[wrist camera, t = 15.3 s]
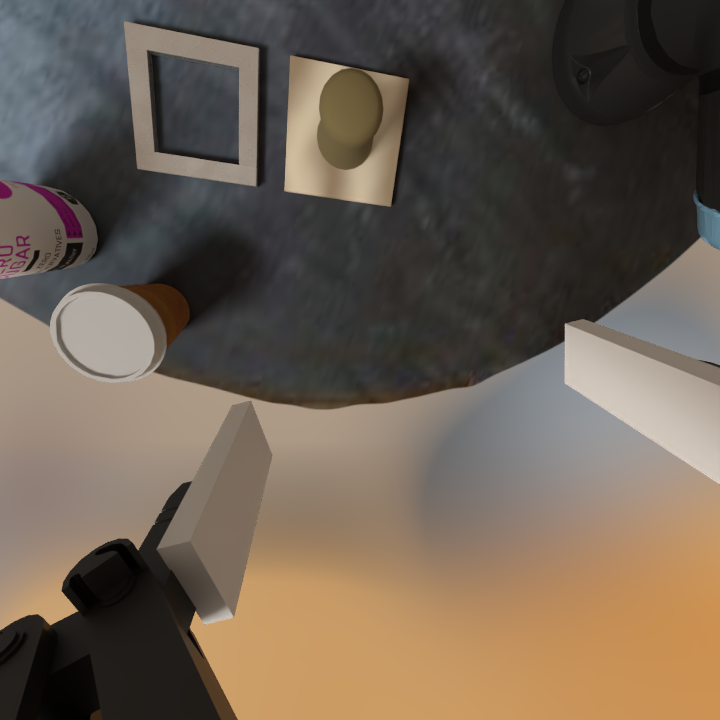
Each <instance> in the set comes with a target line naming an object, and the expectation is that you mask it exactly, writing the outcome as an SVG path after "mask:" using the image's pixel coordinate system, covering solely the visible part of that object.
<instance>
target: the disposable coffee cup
mask: <svg viewBox="0 0 720 720" xmlns="http://www.w3.org/2000/svg"><path fill="white" fill-rule="evenodd" d="M189 318H190V309H189V305H188V303H187V301H186V299H185V298H184V296H183V295H182V294H181V293H180V292H179V291H177V290H176V289H175V288H173V287H171V286H168V285H166V284H143V285H126V286H116V285H112V284H104V283H97V284H88V285H84V286H80V287H78V288H76V289H74V290H72V291H70V292H69V293H68V294H67V295H66V296H64V297H63V299H62V300H61V302H60V303H59V304H58V306H57V307H56V309H55V310H54V312H53V314H52V318H51V322H50V331H51V337H52V340H53V343H54V345H55V347H56V349H57V351H58V353H59V354H60V355H61V356H62V357H63V359H64V360H65V361H66V362H67V363H68V364H69V365H70V366H71V367H72V368H74V369H75V370H76V371H78V372H80V373H81V374H83V375H85V376H88V377H90V378H93V379H95V380H99V381H104V382H126V381H134V380H137V379H140V378H143V377H146V376H147V375H149V374H150V373H152V372H153V371H154V370H155V369H156V368H157V367H158V366H159V365H160V363H161V362H162V360H163V358H164V355H165V352H166V350H167V349H168V347H169V346H170V345H171V343H172V342H173V341H174V340H175V338H176V337H177V336H178V335H179V333H180V332H181V331H182V330H183V329H184V327H185V326H186V325H187V323H188V321H189Z"/></svg>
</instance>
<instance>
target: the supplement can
mask: <svg viewBox="0 0 720 720" xmlns="http://www.w3.org/2000/svg"><path fill="white" fill-rule="evenodd" d="M97 242H98V237H97V231H96V225H95V223H94V221H93V220H92V218H91V216H90V214H89V212H88V211H87V210H86V209H85V207H84V206H83V205H82V204H81V203H80V202H79V201H78V200H77V199H75V198H74V197H72V196H71V195H69V194H67V193H66V192H64V191H62V190H58V189H55V188H51V187H47V186H41V185H34V184H27V183H20V182H13V181H7V180H0V279H3V278H9V277H16V276H22V275H28V274H35V273H41V272H47V271H54V270H60V269H66V268H73V267H78V266H80V265H82V264H84V263H86V262H88V261H89V259H90V258H91V257H92V256H93V254H94V253H95V251H96V246H97Z"/></svg>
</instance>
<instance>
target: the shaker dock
mask: <svg viewBox="0 0 720 720" xmlns="http://www.w3.org/2000/svg"><path fill="white" fill-rule="evenodd" d="M124 28H125V39H126V50H127V61H128V72H129V83H130V94H131V105H132V116H133V127H134V137H135V148H136V159H137V169H140V170H143V171H150V172H157V173H164V174H171V175H177V176H184V177H191V178H198V179H205V180H211V181H218V182H225V183H232V184H239V185H245V186H252V187H258V156H259V103H260V51H259V48H255V47H250V46H245V45H240V44H235V43H230V42H225V41H220V40H215V39H210V38H205V37H200V36H195V35H190V34H185V33H180V32H175V31H170V30H165V29H160V28H155V27H150V26H145V25H140V24H135V23H130V22H125V21H124ZM152 55H155V56H161V57H166V58H171V59H176V60H182V61H187V62H192V63H198V64H203V65H208V66H213V67H219V68H224V69H229V70H235V71H239V165H236V164H230V163H223V162H217V161H210V160H204V159H197V158H191V157H184V156H178V155H171V154H165V153H159V149H158V135H157V121H156V107H155V93H154V78H153V64H152Z"/></svg>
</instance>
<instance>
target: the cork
mask: <svg viewBox="0 0 720 720" xmlns="http://www.w3.org/2000/svg"><path fill="white" fill-rule="evenodd" d="M383 110H384V109H383V101H382V95H381V93H380V90H379V88H378V85H377V84H376V83H375V81H374V80H373V79H372V77H371V76H370V75H368V74H367V73H365V72H364V71H362V70H359V69H355V68H347V69H341V70H340V71H338V72H337V73H335V74H333V75H332V76H331V77H330V79H329V80H328V81H327V82H326V84H325V85H324V87H323V90H322V92H321V95H320V103H319V112H320V118H321V120H320V122H319V125H318V129H317V142H318V147H319V150H320V152H321V154H322V156H323V157H324V158H325V160H326V161H327V162H328V163H329V164H330V165H332V166H334V167H336V168H338V169H343V170H349V169H355V168H356V167H358V166H360V165H361V164H363V163H364V161H365V160H366V159H367V158H368V156H369V154H370V152H371V150H372V145H373V138H374V135H375V134H376V133H377V131H378V129H379V127H380V124H381V122H382V117H383Z"/></svg>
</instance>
